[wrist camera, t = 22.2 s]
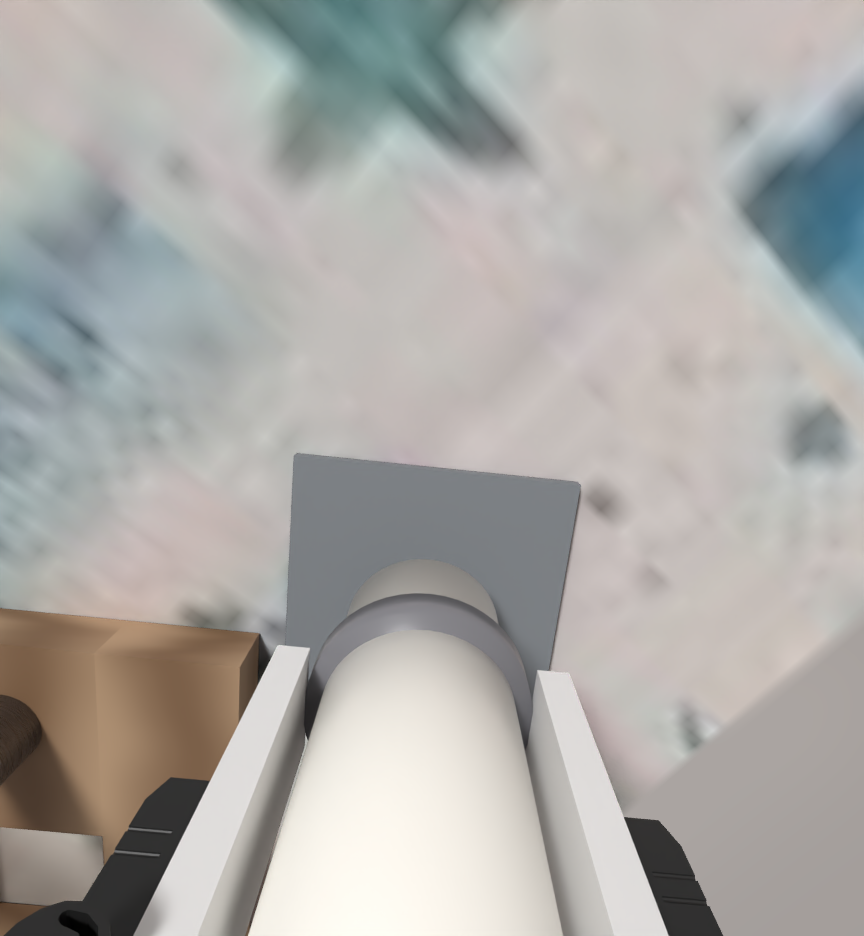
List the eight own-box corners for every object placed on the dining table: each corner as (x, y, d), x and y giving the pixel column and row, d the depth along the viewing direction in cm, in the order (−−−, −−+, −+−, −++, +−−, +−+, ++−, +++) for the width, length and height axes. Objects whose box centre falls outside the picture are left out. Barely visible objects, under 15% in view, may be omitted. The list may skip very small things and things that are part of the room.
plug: (327, 698, 18) (-88, 2123, 4) (339, 537, 17) (-239, 1789, 2) (498, 715, 18) (730, 2166, 4) (523, 555, 17) (1016, 1867, 2)
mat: (285, 698, 20) (282, 706, 20) (296, 453, 18) (293, 456, 18) (536, 722, 20) (538, 730, 20) (577, 482, 18) (580, 485, 18)
